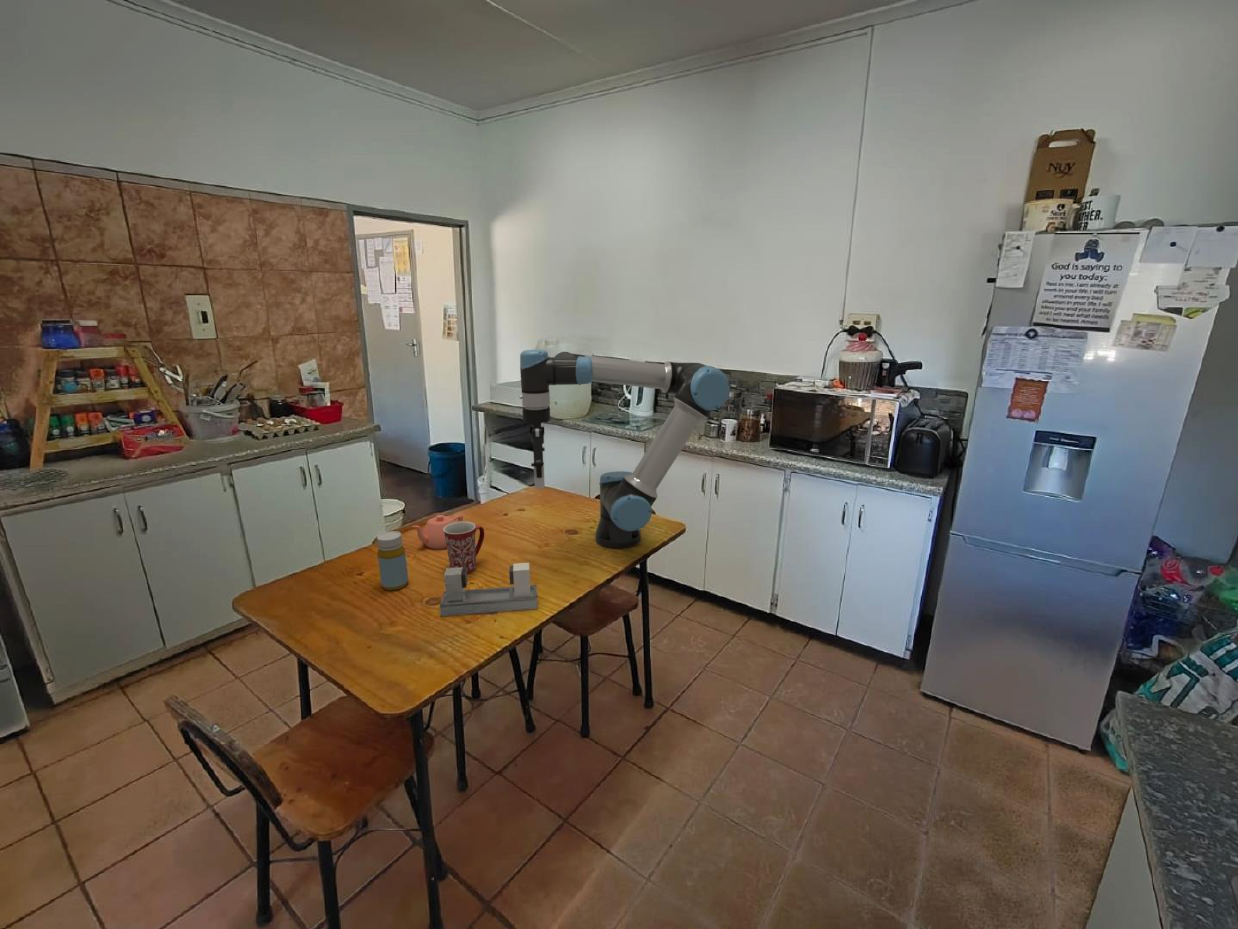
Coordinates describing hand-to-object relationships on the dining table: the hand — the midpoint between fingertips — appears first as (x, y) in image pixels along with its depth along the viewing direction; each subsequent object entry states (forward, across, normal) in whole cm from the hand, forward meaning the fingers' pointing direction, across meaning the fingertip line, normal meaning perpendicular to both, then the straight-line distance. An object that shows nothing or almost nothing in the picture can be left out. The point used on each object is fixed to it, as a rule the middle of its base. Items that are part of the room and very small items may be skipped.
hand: (539, 480), depth 159 cm
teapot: (+27, -21, -33) cm, 48 cm away
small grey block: (+24, +21, -6) cm, 33 cm away
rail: (+27, +21, -14) cm, 37 cm away
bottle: (+27, +6, -41) cm, 49 cm away
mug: (+27, -2, -22) cm, 35 cm away
